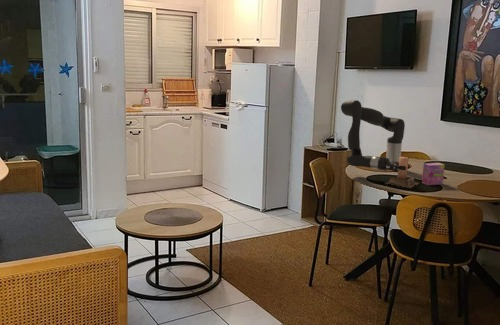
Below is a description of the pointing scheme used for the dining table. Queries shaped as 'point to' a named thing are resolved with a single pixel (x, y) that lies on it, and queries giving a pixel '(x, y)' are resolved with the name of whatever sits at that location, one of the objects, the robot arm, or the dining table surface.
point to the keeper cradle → (403, 182)
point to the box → (433, 173)
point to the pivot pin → (403, 162)
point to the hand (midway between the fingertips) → (407, 167)
